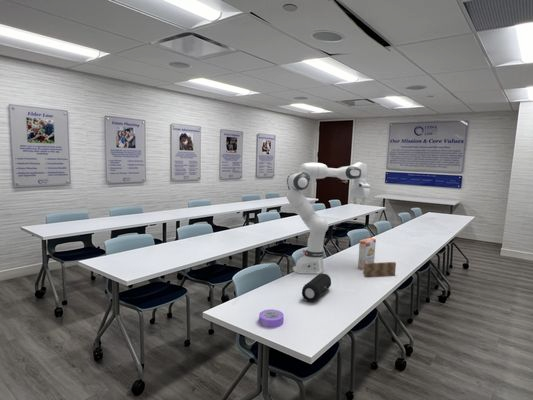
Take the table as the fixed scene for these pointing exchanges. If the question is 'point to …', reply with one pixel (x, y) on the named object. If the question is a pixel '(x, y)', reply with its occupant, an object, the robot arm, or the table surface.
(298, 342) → the table surface
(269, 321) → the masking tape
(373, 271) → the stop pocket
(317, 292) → the portable speaker
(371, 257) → the cracker box
